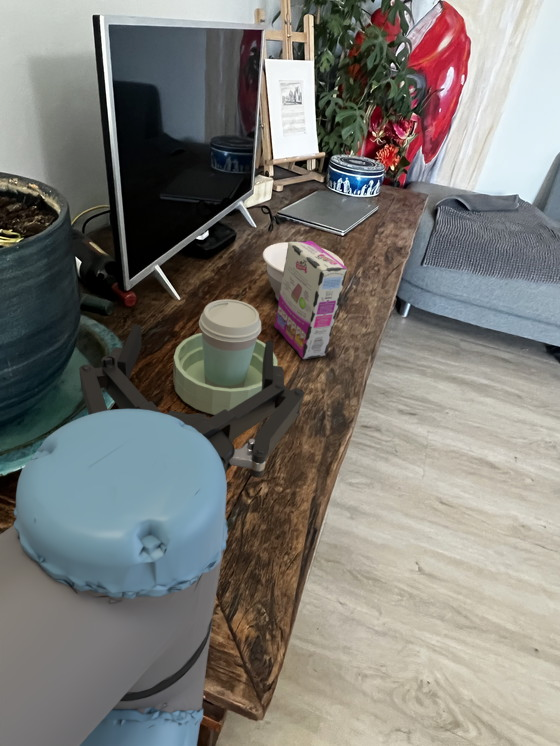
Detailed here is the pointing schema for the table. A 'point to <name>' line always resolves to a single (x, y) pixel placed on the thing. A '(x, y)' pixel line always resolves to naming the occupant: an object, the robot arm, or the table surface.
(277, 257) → the bowl
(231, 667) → the table surface
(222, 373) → the coffee cup
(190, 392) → the celadon bowl
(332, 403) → the table surface
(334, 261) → the candy bar box
